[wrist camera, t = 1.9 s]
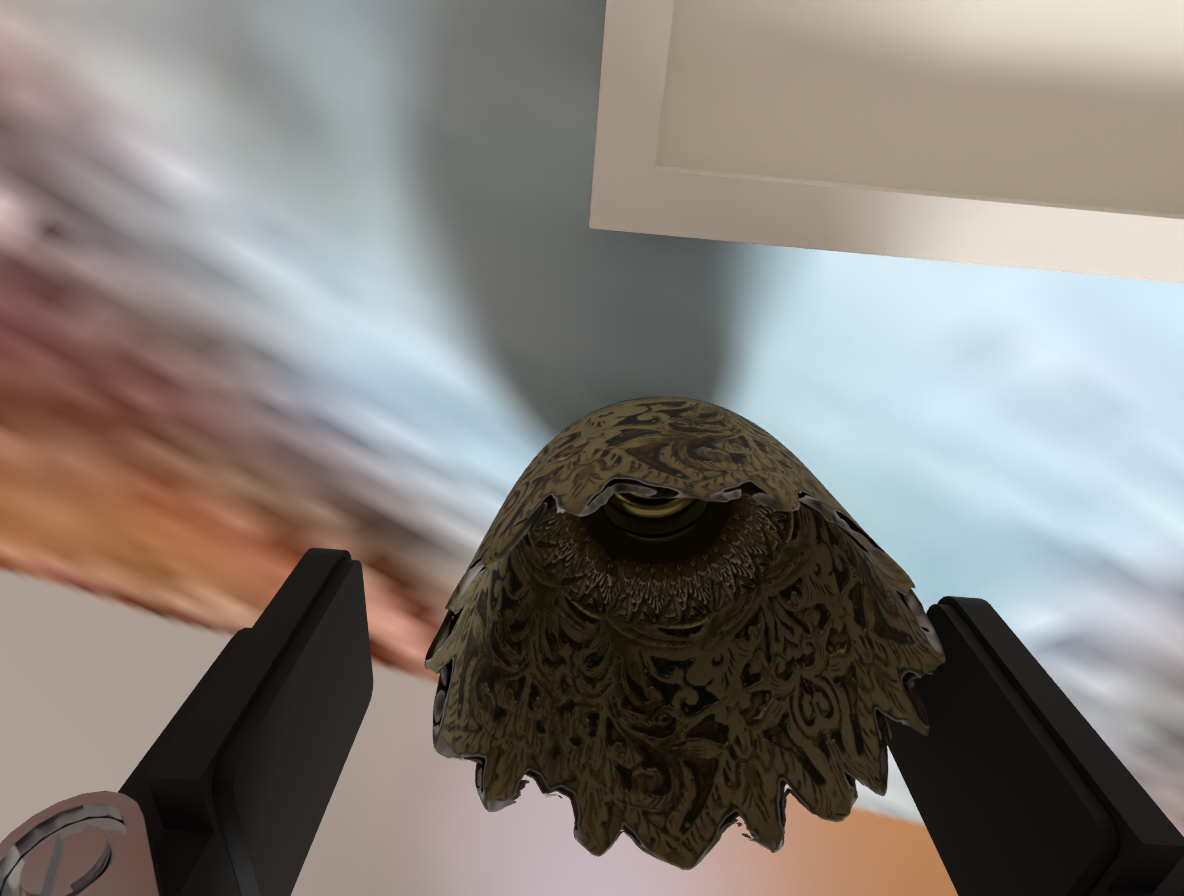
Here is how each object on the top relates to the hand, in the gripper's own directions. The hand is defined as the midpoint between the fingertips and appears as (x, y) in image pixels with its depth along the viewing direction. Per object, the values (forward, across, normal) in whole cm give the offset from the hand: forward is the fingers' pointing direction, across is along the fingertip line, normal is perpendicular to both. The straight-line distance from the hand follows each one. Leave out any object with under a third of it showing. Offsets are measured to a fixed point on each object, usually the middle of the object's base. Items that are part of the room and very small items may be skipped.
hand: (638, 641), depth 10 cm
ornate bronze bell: (+7, -1, 0) cm, 7 cm away
